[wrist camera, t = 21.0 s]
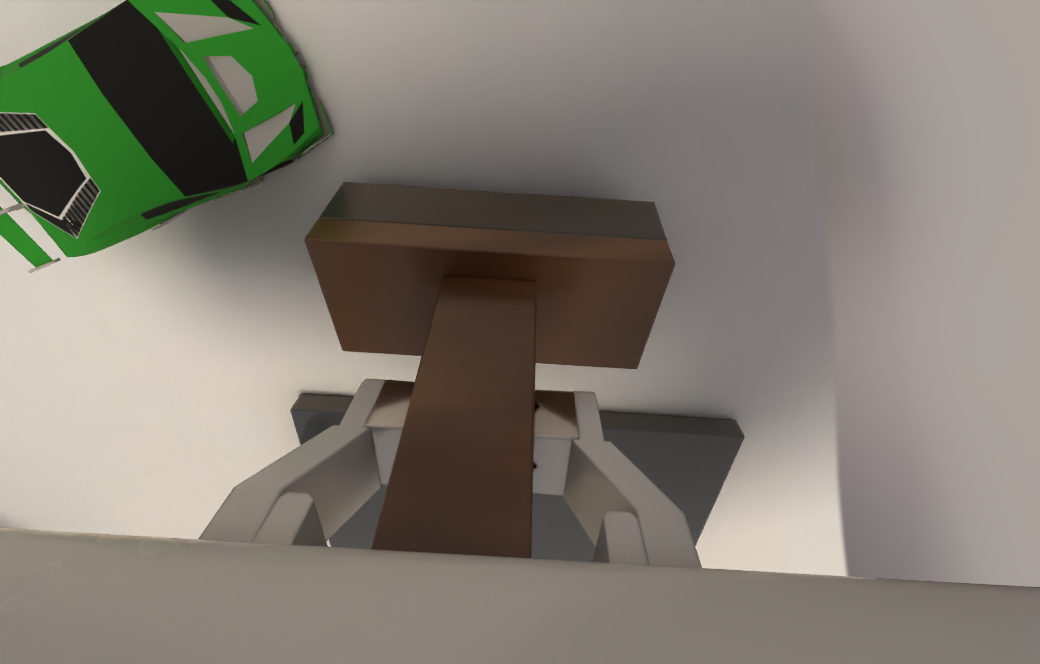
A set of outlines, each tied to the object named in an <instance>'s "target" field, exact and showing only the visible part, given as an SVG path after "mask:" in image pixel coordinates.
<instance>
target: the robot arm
mask: <svg viewBox="0 0 1040 664" xmlns="http://www.w3.org/2000/svg"><path fill="white" fill-rule="evenodd" d="M414 384H415V382H408V381H395V380H379V379H365V380H364V381H363V382H362V383H361V385H360V387H359V389H358V391H357V393H356V395H355V396H354V398H353V400H352V402H351V404H350V406H349V408H348V410H347V412H346V414H345V415H344V417H343V419H342V421H341V423H340V425H339V426H338V425H332V426H331V427H329V428H328V429H326V430H325V431H323V432H321V433H320V434H318V435H317V436H315V437H313V438H312V439H310V440H309V441H307V442H305V443H304V444H302V445H301V446H299V447H297V448H296V449H294V450H293V451H291V452H289V453H288V454H286V455H285V456H283V457H281V458H280V459H278V460H277V461H275V462H273V463H272V464H270V465H269V466H267V467H265V468H264V469H262V470H261V471H259V472H258V473H256V474H254V475H253V476H251V477H250V478H248V479H246V480H245V481H243V482H242V483H240V484H238V485H237V486H235V487H234V488H233V490H232V491H231V493H230V494H229V495H228V497H227V498H226V500H225V501H224V503H223V504H222V506H221V507H220V508H219V510H218V511H217V513H216V514H215V516H214V517H213V519H212V520H211V521H210V523H209V524H208V526H207V527H206V529H205V530H204V531H203V533H202V534H201V536H200V537H199V539H182V538H164V537H147V536H129V535H111V534H94V533H76V532H58V531H41V530H23V529H6V528H0V664H1040V587H1024V586H1005V585H988V584H970V583H969V584H968V583H952V582H951V583H950V582H934V581H916V580H897V579H881V578H863V577H846V576H829V575H812V574H794V573H777V572H759V571H742V570H725V569H707V568H702V566H701V563H700V560H699V557H698V554H697V551H696V548H695V545H694V542H693V539H692V536H691V533H690V529H689V526H688V523H687V520H686V517H685V514H684V513H683V512H682V511H681V510H680V509H679V508H678V507H677V506H676V505H675V504H674V503H673V502H672V501H671V500H670V499H669V498H668V497H667V496H666V495H665V494H664V493H663V492H662V491H661V490H660V489H659V488H658V487H656V486H655V485H654V484H653V483H652V482H651V481H650V480H649V479H648V478H647V477H646V476H645V475H644V474H643V473H642V472H641V471H640V470H639V469H638V468H637V467H636V466H635V465H634V464H633V463H632V462H631V461H630V460H629V459H628V458H627V457H626V456H625V455H624V454H623V453H622V452H621V451H620V450H619V449H618V448H617V447H615V446H614V445H613V444H612V443H611V442H610V441H604V438H603V432H602V427H601V421H600V416H599V411H598V405H597V400H596V394H595V393H594V392H584V391H573V392H571V391H552V390H535V408H534V455H533V493H537V494H548V495H560V496H563V498H564V500H565V501H566V503H567V504H568V506H569V507H570V509H571V510H572V512H573V513H574V515H575V516H576V518H577V519H578V521H579V522H580V524H581V525H582V527H583V528H584V530H585V531H586V533H587V534H588V536H589V537H590V539H591V540H592V542H593V543H594V545H595V546H596V548H595V552H594V556H593V560H592V562H585V561H567V560H550V559H532V558H514V557H497V556H479V555H462V554H444V553H427V552H409V551H392V550H375V549H357V548H340V547H328V546H327V543H326V541H327V540H328V539H329V538H330V537H331V536H332V535H333V534H334V533H335V532H336V531H337V530H338V529H339V528H340V527H341V526H342V525H343V524H344V523H345V522H346V521H347V520H348V519H349V518H350V517H351V516H352V515H353V514H354V513H355V512H356V511H357V510H358V509H359V508H360V507H361V506H362V505H363V504H364V503H365V502H366V501H367V500H368V499H369V498H370V497H372V496H373V495H374V494H375V493H376V492H377V491H378V490H379V489H380V488H381V486H380V485H388V482H389V478H390V474H391V470H392V466H393V463H394V459H395V455H396V451H397V448H398V444H399V440H400V436H401V433H402V429H403V425H404V421H405V418H406V414H407V410H408V406H409V402H410V399H411V395H412V391H413V387H414Z"/></svg>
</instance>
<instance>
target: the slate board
mask: <svg viewBox="0 0 1040 664" xmlns="http://www.w3.org/2000/svg"><path fill="white" fill-rule="evenodd" d="M353 398H354V397H344V396H327V395H310V394H301V395H300V396H299V398H298V399H297V401H296V402H295V404H294V405H293V407H292V408H291V410H290V411H291V414H292V418H293V421H294V424H295V428H296V431H297V434H298V438H299V441H300V444H301V445H302V444H304V443H305V442H307V441H309V440H310V439H312V438H313V437H315V436H317V435H318V434H320V433H321V432H323V431H325V430H326V429H328V428H329V427H331V426H332V425H338V426H339V425H340V423H341V421H342V419H343V417H344V415H345V414H346V412H347V410H348V408H349V406H350V404H351V402H352V400H353ZM599 416H600V421H601V427H602V432H603V438H604V441H610V442H611V443H612V444H613V445H614V446H615V447H617V448H618V449H619V450H620V451H621V452H622V453H623V454H624V455H625V456H626V457H627V458H628V459H629V460H630V461H631V462H632V463H633V464H634V465H635V466H636V467H637V468H638V469H639V470H640V471H641V472H642V473H643V474H644V475H645V476H646V477H647V478H648V479H649V480H650V481H651V482H652V483H653V484H654V485H655V486H656V487H658V488H659V489H660V490H661V491H662V492H663V493H664V494H665V495H666V496H667V497H668V498H669V499H670V500H671V501H672V502H673V503H674V504H675V505H676V506H677V507H678V508H679V509H680V510H681V511H682V512H683V513H684V514H685V517H686V520H687V523H688V526H689V529H690V533H691V536H692V539H693V542H694V545H695V546H696V543H697V541H698V539H699V537H700V535H701V532H702V530H703V528H704V526H705V524H706V521H707V519H708V517H709V515H710V513H711V510H712V508H713V506H714V504H715V502H716V499H717V497H718V495H719V493H720V491H721V488H722V486H723V484H724V482H725V480H726V477H727V475H728V473H729V471H730V469H731V466H732V464H733V462H734V460H735V457H736V455H737V453H738V451H739V449H740V446H741V444H742V442H743V440H744V434H743V433H742V431H741V429H740V427H739V425H738V423H737V422H736V420H731V419H714V418H697V417H681V416H664V415H647V414H630V413H613V412H599ZM380 486H381V488H380V489H379V490H378V491H377V492H376V493H375V494H374V495H373V496H372V497H370V498H369V499H368V500H367V501H366V502H365V503H364V504H363V505H362V506H361V507H360V508H359V509H358V510H357V511H356V512H355V513H354V514H353V515H352V516H351V517H350V518H349V519H348V520H347V521H346V522H345V523H344V524H343V525H342V526H341V527H340V528H339V529H338V530H337V531H336V532H335V533H334V534H333V535H332V536H331V537H330V538H329V541H330V545H331V547H340V548H357V549H371V546H372V542H373V538H374V534H375V531H376V527H377V523H378V519H379V515H380V512H381V508H382V504H383V500H384V497H385V493H386V489H387V485H380ZM595 548H596V546H595V545H594V543H593V542H592V540H591V539H590V537H589V536H588V534H587V533H586V531H585V530H584V528H583V527H582V525H581V524H580V522H579V521H578V519H577V518H576V516H575V515H574V513H573V512H572V510H571V509H570V507H569V506H568V504H567V503H566V501H565V500H564V498H563V496H560V495H548V494H537V493H533V502H532V549H531V558H532V559H550V560H567V561H585V562H592V560H593V556H594V552H595Z"/></svg>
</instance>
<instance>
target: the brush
mask: <svg viewBox="0 0 1040 664" xmlns="http://www.w3.org/2000/svg"><path fill="white" fill-rule="evenodd" d="M305 243H306V246H307V249H308V252H309V255H310V258H311V261H312V264H313V266H314V269H315V272H316V275H317V278H318V281H319V284H320V287H321V290H322V292H323V295H324V298H325V301H326V304H327V307H328V310H329V313H330V316H331V318H332V321H333V324H334V327H335V330H336V333H337V336H338V339H339V342H340V344H341V347H342V350H343V351H352V352H368V353H384V354H400V355H416V356H422V357H421V361H420V365H419V369H418V372H417V376H416V380H415V384H414V387H413V391H412V395H411V399H410V402H409V406H408V410H407V414H406V418H405V421H404V425H403V429H402V433H401V436H400V440H399V444H398V448H397V451H396V455H395V459H394V463H393V466H392V470H391V474H390V478H389V482H388V485H387V489H386V493H385V497H384V500H383V504H382V508H381V512H380V515H379V519H378V523H377V527H376V531H375V534H374V538H373V542H372V546H371V549H375V550H392V551H409V552H427V553H444V554H462V555H479V556H497V557H514V558H531V549H532V502H533V455H534V408H535V363H544V364H560V365H576V366H592V367H608V368H624V369H637V368H638V365H639V362H640V359H641V357H642V354H643V351H644V348H645V346H646V343H647V340H648V337H649V335H650V332H651V329H652V326H653V324H654V321H655V318H656V315H657V312H658V310H659V307H660V304H661V301H662V299H663V296H664V293H665V290H666V288H667V285H668V282H669V279H670V277H671V274H672V271H673V268H674V266H675V261H674V258H673V255H672V252H671V249H670V246H669V243H668V241H667V238H666V235H665V232H664V229H663V226H662V223H661V220H660V218H659V215H658V212H657V209H656V206H655V203H654V202H645V201H630V200H614V199H599V198H584V197H568V196H553V195H537V194H522V193H506V192H491V191H475V190H460V189H445V188H429V187H414V186H398V185H383V184H367V183H352V182H344V183H343V184H342V185H341V187H340V188H339V190H338V191H337V193H336V194H335V195H334V197H333V198H332V200H331V201H330V203H329V204H328V206H327V207H326V208H325V210H324V211H323V213H322V214H321V216H320V219H318V220H317V222H316V223H315V224H314V226H313V227H312V229H311V230H310V232H309V233H308V235H307V236H306V237H305Z"/></svg>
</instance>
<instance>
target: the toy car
mask: <svg viewBox="0 0 1040 664" xmlns="http://www.w3.org/2000/svg"><path fill="white" fill-rule="evenodd" d="M182 40H184V41H185V42H186V43H184V42H183V41H182ZM298 53H299V52H296V53H295V52H294V50H293V48H292V46H291V45H290V44H289V43H288V42H286V41H285V39H284V38H283V36H282V35H281V34H280V32H279V31H278V29H277V28H276V27H275V21H274V14H273V13H272V11H271V10H270V8H269V7H268V5H267V4H266V2H265V1H264V0H126V1H124V2H123V3H121V4H120V5H118V6H117V7H115V8H113V9H112V10H110V11H108V12H107V13H105V14H103V15H101V16H100V17H98V18H96V19H94V20H92V21H90V22H88V23H87V24H85V25H83V26H81V27H79V28H77V29H75V30H73V31H71V32H69V33H68V34H66V35H64V36H62V37H60V38H58V39H56V40H54V41H52V42H50V43H48V44H46V45H45V46H43V47H41V48H39V49H37V50H35V51H33V52H31V53H29V54H27V55H25V56H24V57H22V58H20V59H18V60H16V61H14V62H12V63H10V64H8V65H6V66H2V67H0V184H1V185H2V186H3V187H4V188H5V189H6V190H7V191H8V192H9V193H10V194H11V195H12V196H13V197H14V198H15V199H16V201H17V202H18V203H19V204H18V205H15V206H12V207H9V208H6V209H2V208H1V207H0V235H1V236H2V237H4V238H5V239H6V240H7V241H8V242H9V243H10V244H11V245H12V246H13V247H14V248H15V249H16V250H18V251H19V252H20V253H21V254H22V255H23V256H24V257H25V258H26V259H27V260H28V261H29V262H30V263H32V264H33V265H34V266H35V267H36V268H34V269H32V270H30V271H28V272H29V273H32V272H34V271H36V270H39V269H41V268H43V267H46V266H48V265H50V264H53V263H55V262H57V261H60V259H59V258H58V259H55V260H52V259H51V258H50V257H49V256H48V255H47V254H46V253H45V252H44V251H43V250H42V249H41V248H40V247H39V246H38V245H37V244H36V243H35V242H34V240H33V239H32V238H31V237H30V236H29V235H28V234H27V233H26V232H25V231H24V230H23V229H22V228H21V227H20V226H19V225H18V224H17V223H16V222H15V221H14V220H13V219H12V218H11V217H10V216H9V215H8V214H7V212H10V211H13V210H19V209H22V208H25V209H26V210H27V211H28V212H29V213H30V214H31V215H32V216H33V217H34V218H35V219H36V220H37V221H38V222H39V223H40V225H41V226H42V227H43V228H44V229H45V231H46V232H47V233H48V234H49V236H50V237H51V238H52V239H53V240H54V242H55V243H56V244H57V245H58V247H59V248H60V249H61V250H62V251H63V253H64V254H65V255H66V256H67V257H77V256H83V255H88V254H91V253H95V252H97V251H100V250H103V249H105V248H107V247H110V246H112V245H114V244H117V243H119V242H121V241H124V240H126V239H128V238H131V237H133V236H135V235H138V234H140V233H142V232H144V231H146V230H148V229H150V228H152V227H154V226H156V225H158V224H160V225H159V226H157V227H156V228H154V229H157V228H159V227H161V226H163V225H165V224H167V223H168V222H170V221H171V220H173V219H175V218H176V217H178V216H179V215H181V214H183V213H184V212H186V211H188V210H189V209H191V208H192V207H194V206H197V205H199V204H202V203H205V202H207V201H210V200H213V199H215V198H218V197H221V196H223V195H226V194H228V195H226V196H223V197H221V198H219V199H217V200H215V201H218V200H221V199H223V198H225V197H228V196H230V195H232V194H235V193H237V192H240V191H244V190H246V189H248V188H251V187H253V186H255V185H257V184H259V183H261V182H263V181H262V180H261V178H260V177H262V176H263V175H266V174H268V173H270V172H273V171H275V170H277V169H280V168H282V167H285V166H286V165H289V164H291V163H292V162H293V159H292V158H293V157H294V156H297V158H298V159H299V158H301V157H302V156H303V155H305V154H306V153H307V152H309V151H310V150H312V149H313V148H314V147H316V146H317V145H318V144H320V143H321V142H322V141H324V140H325V139H326V138H328V137H329V136H331V135H332V134H333V133H334V132H332V130H331V127H330V125H329V122H328V119H327V117H326V114H325V112H324V109H323V107H322V104H321V102H320V101H318V100H317V99H316V98H314V97H313V96H312V94H311V90H310V88H309V85H308V83H307V74H306V72H305V70H304V68H303V67H305V66H306V65H301V64H299V63H298V62H297V60H296V58H295V57H296V55H297V54H298ZM245 140H246V143H247V146H246V143H245ZM247 147H248V149H247ZM231 192H233V193H231ZM229 193H230V194H229ZM186 209H187V210H186ZM69 214H70V215H71V216H72V217H73V219H74V220H75V221H74V220H73V219H72V218H71V216H70V215H69ZM67 217H68V219H69V220H70V221H71V222H69V221H68V220H67V219H66V218H67ZM71 223H72V224H73V225H72V224H71ZM154 229H152V230H154Z"/></svg>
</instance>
